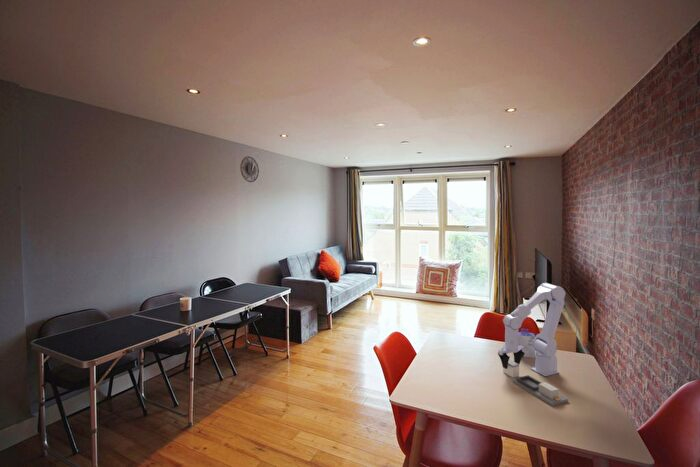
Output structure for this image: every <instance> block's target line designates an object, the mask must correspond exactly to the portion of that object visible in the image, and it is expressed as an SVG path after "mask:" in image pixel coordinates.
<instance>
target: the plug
mask: <svg viewBox="0 0 700 467" xmlns="http://www.w3.org/2000/svg"><path fill="white" fill-rule="evenodd" d="M502 372H503V373H504V374H506V375H508V376H509V377H510V378H513V379H515V378H519V377H520V364H518V363H516V362H514V360H512V359H510V358H509V361H508V367H507V369H505V368H503V367H502Z"/></svg>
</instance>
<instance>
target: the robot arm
mask: <svg viewBox="0 0 700 467" xmlns="http://www.w3.org/2000/svg"><path fill="white" fill-rule="evenodd" d="M566 294H567V293H566V291H565V289H564V288H563V287H562V286H559V285H554V284H552V283H548V282H543V283H541V284H540V285H539V286H538V287H537V290H536V291H535V293H534V294H533V295H532V296H531V297H530V298H529V299H527V301H526V303H521V304H519V305H518V306H517V307H516V308H515V309H514V310H513V311H511V313H509V314H506V315H504V317H503V319H502V322H503V324H504V328H505V329H504V345H503V347H502V348H500V349H498V352H497V355H498V357H499V359H500V362H501V365H502V369H503V368H505V369H507V367H508V361H509V359H510V358H511V357H510V356H509V355H508V354H511V353H512V355H513V361H514V362H516V363H518V364H519V365H520V364H521V361H522V358H523V356H524V355H525V353H524V352H522V351H524V347H523V346H518V332H519V329H521V327H522V324H523V323H524V321H525V319H526V318H527V317H529V316H530V315H531V313H532V309H533V308H536V306H537V305H539V304H540V303H541V302H542V301H544V300H547V301H548V302H549V306H548V310H547V313H546V317H545V320H544V323H543V326H542V329H541V332H540V333H537V334H535V336H536V338H535V339H534V340H533V342H532V346H533V348H534V349H535V358H534V359H535V361H534V363H535V364H534V365H535V366H533V367H531V368H530V370H532V371H534V372H536V373H537V374H540V375H542V376H544V377H548V376H552V375H556V374H559V371H558V359H557V356H556V354H557V345H558V343H557V341H556V339H555V334H556V333H557V332H556V331H557V328H558V325H559V322H560V319H561V314H562V313H563V309H564V305H565V297H566Z"/></svg>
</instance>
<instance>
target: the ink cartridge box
mask: <svg viewBox="0 0 700 467" xmlns="http://www.w3.org/2000/svg"><path fill="white" fill-rule="evenodd" d="M535 338H536V334H535V333H534V332H529V329H528V328H521V327H520V331H518V346H523V347H524V351H522V352H524V353H525V355H524V356H523V357H525V358H533V359H535V356H536V352H535V349H534V348H533V346H532V342H533V340H534V339H535ZM523 357H522V358H523Z"/></svg>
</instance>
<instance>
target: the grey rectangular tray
mask: <svg viewBox="0 0 700 467" xmlns="http://www.w3.org/2000/svg"><path fill="white" fill-rule="evenodd" d="M512 383H513V384H515V385H516V386H518V387H520V388H522V389H523V390H525V391H527V392H528V393H530V394H531V395H533V396H535V397H536V398H538V399H539V400H542V401H543V402H545V403H546V404H548V405H550V406H552V407H555V406H558V405H561V404H565V403H568V402H569V398H568V397H566V396H564V395H563V394H560V393H559V388H557V387H555V386H554V385H551V384H550V383H548V382H546V381H543V382H542V381H540V380H538V379H536V378H534V377H532V376H530V375H528V374H527V375H524V376H518V377H516V378H513V379H512Z"/></svg>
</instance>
